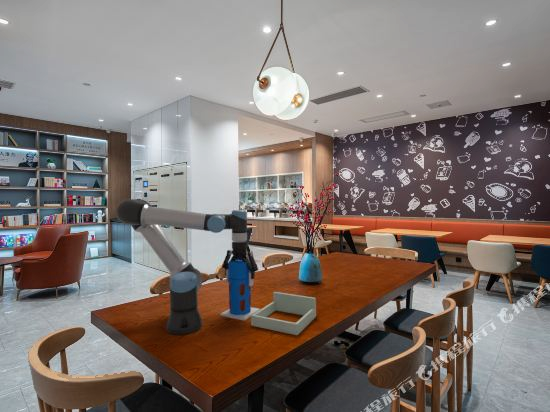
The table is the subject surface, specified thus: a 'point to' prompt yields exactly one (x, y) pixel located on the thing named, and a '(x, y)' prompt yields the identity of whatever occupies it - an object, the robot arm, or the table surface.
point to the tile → (240, 317)
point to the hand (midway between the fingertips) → (239, 283)
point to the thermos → (239, 288)
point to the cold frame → (289, 305)
